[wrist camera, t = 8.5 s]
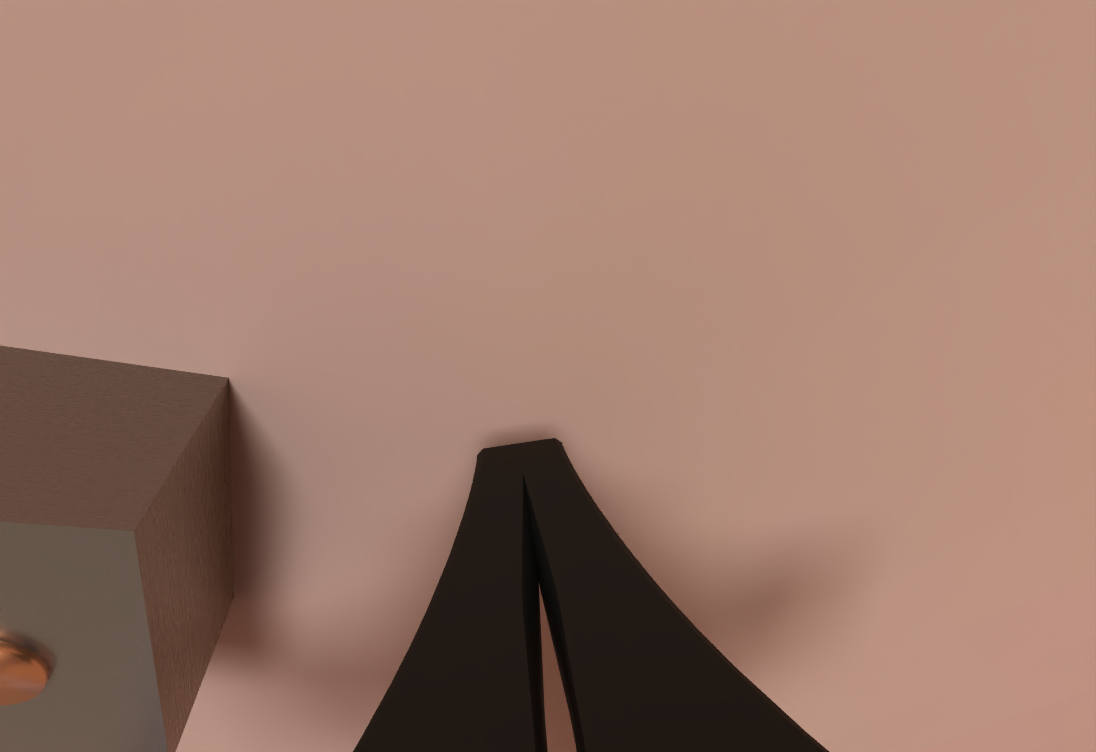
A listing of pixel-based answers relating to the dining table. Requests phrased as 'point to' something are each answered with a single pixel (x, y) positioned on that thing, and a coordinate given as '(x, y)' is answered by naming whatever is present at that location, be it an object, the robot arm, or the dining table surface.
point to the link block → (109, 550)
